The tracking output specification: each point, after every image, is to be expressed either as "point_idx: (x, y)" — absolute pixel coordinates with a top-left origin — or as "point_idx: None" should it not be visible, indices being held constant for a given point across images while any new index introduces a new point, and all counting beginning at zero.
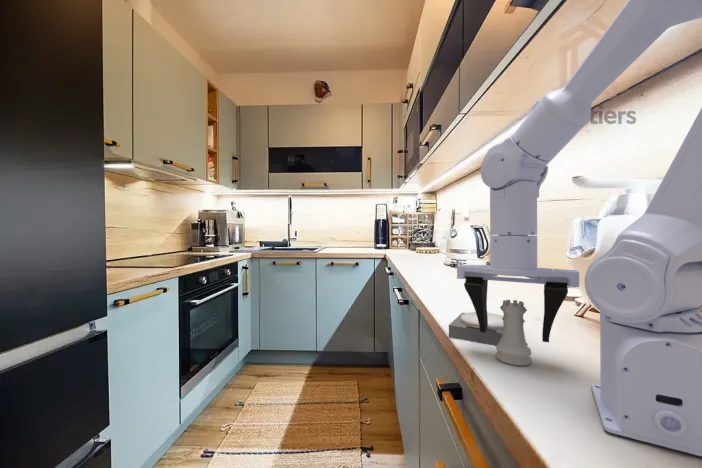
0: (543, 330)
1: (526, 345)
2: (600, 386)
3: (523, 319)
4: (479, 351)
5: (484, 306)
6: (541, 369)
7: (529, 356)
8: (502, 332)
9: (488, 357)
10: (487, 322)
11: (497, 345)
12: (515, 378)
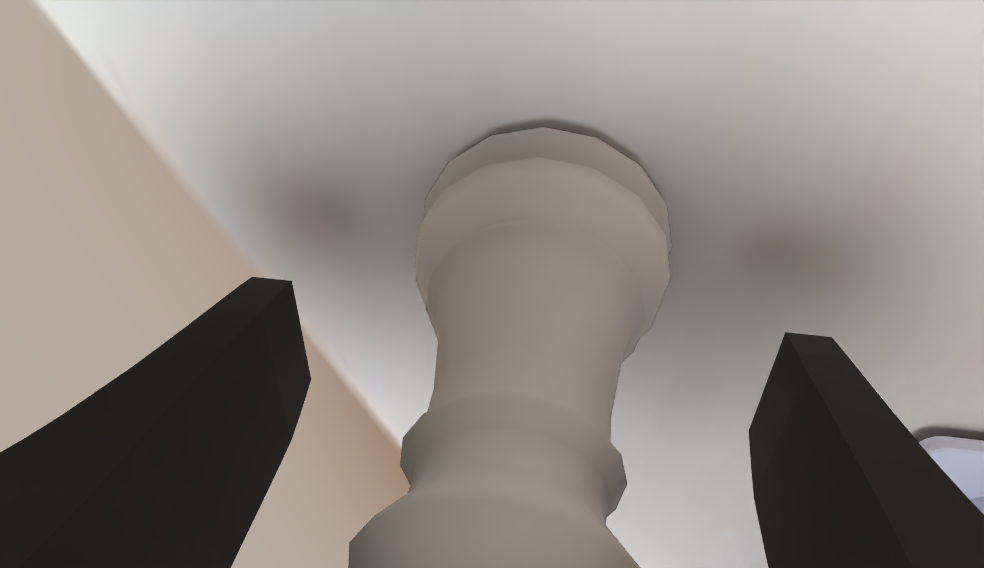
0: (767, 534)
1: (631, 349)
2: (954, 470)
3: (609, 506)
4: (301, 156)
5: (184, 551)
6: (712, 299)
7: (658, 216)
8: (436, 360)
9: (387, 241)
10: (265, 322)
11: (423, 298)
12: None
